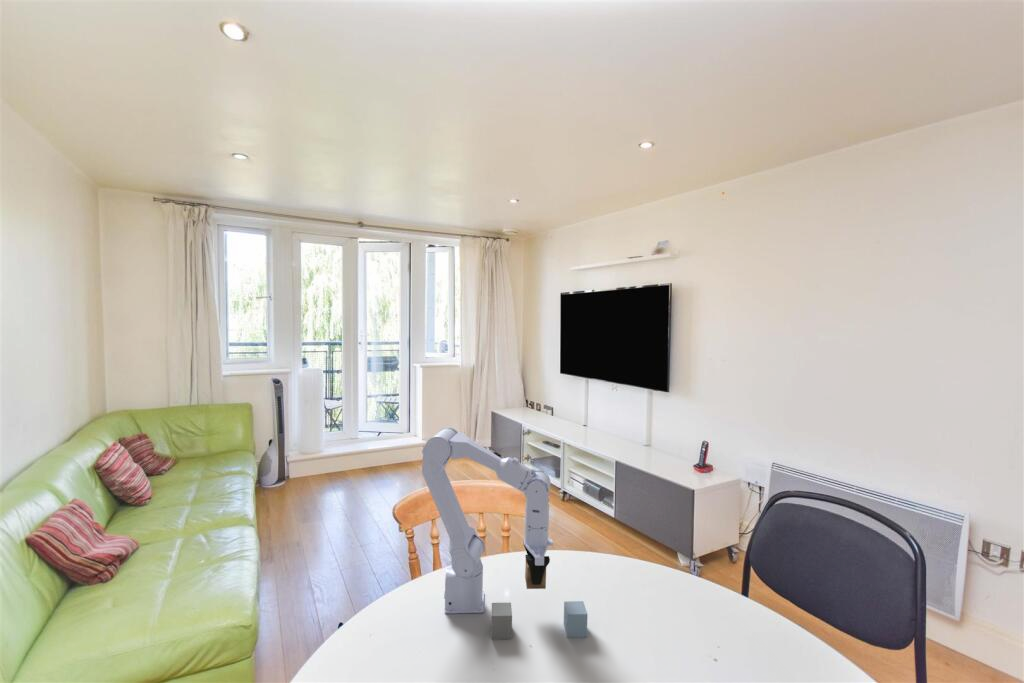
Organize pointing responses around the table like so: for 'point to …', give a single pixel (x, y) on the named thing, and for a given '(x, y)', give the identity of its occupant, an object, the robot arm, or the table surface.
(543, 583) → the walnut block
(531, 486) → the robot arm
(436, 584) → the table surface
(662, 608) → the table surface
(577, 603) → the slate block
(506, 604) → the grey block
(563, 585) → the table surface
